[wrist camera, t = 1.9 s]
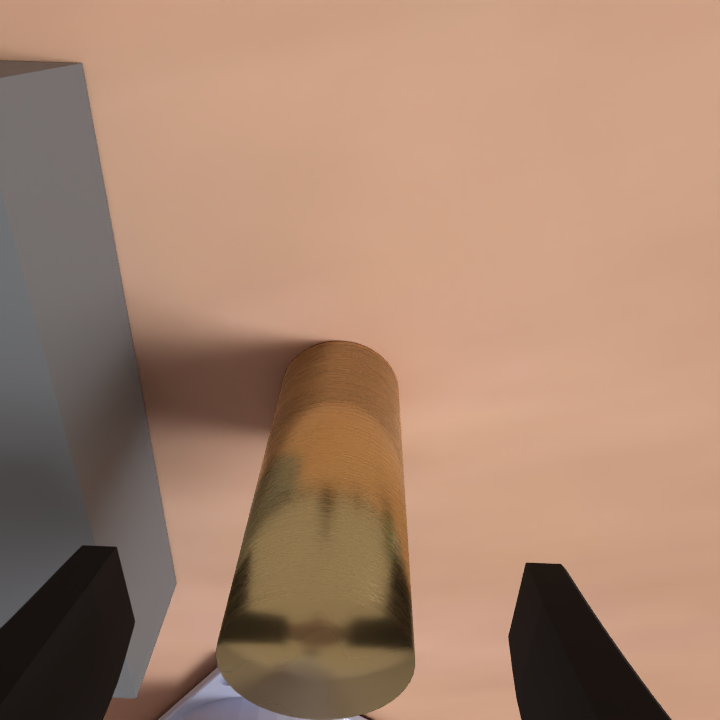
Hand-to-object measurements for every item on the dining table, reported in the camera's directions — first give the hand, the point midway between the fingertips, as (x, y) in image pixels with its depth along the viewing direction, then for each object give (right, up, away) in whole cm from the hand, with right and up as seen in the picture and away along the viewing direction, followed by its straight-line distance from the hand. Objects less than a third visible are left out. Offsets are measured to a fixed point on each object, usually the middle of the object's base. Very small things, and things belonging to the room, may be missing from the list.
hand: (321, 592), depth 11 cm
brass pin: (0, +3, +6) cm, 7 cm away
